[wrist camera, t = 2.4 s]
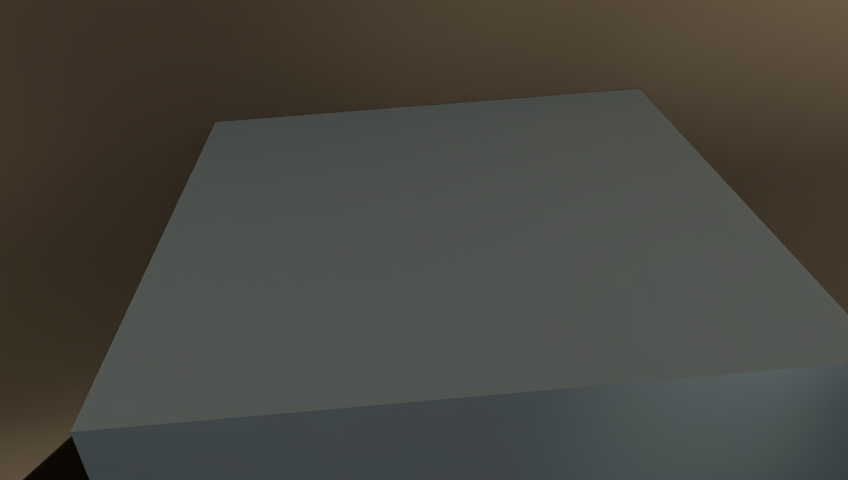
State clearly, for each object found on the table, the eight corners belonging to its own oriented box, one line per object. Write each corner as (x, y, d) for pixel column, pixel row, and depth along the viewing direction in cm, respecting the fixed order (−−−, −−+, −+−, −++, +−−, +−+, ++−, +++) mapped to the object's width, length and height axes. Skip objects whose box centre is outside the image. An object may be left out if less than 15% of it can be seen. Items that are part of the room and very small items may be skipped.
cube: (611, 404, 12) (755, 769, 7) (282, 434, 11) (227, 822, 7) (639, 89, 9) (888, 360, 5) (215, 122, 9) (69, 432, 5)
